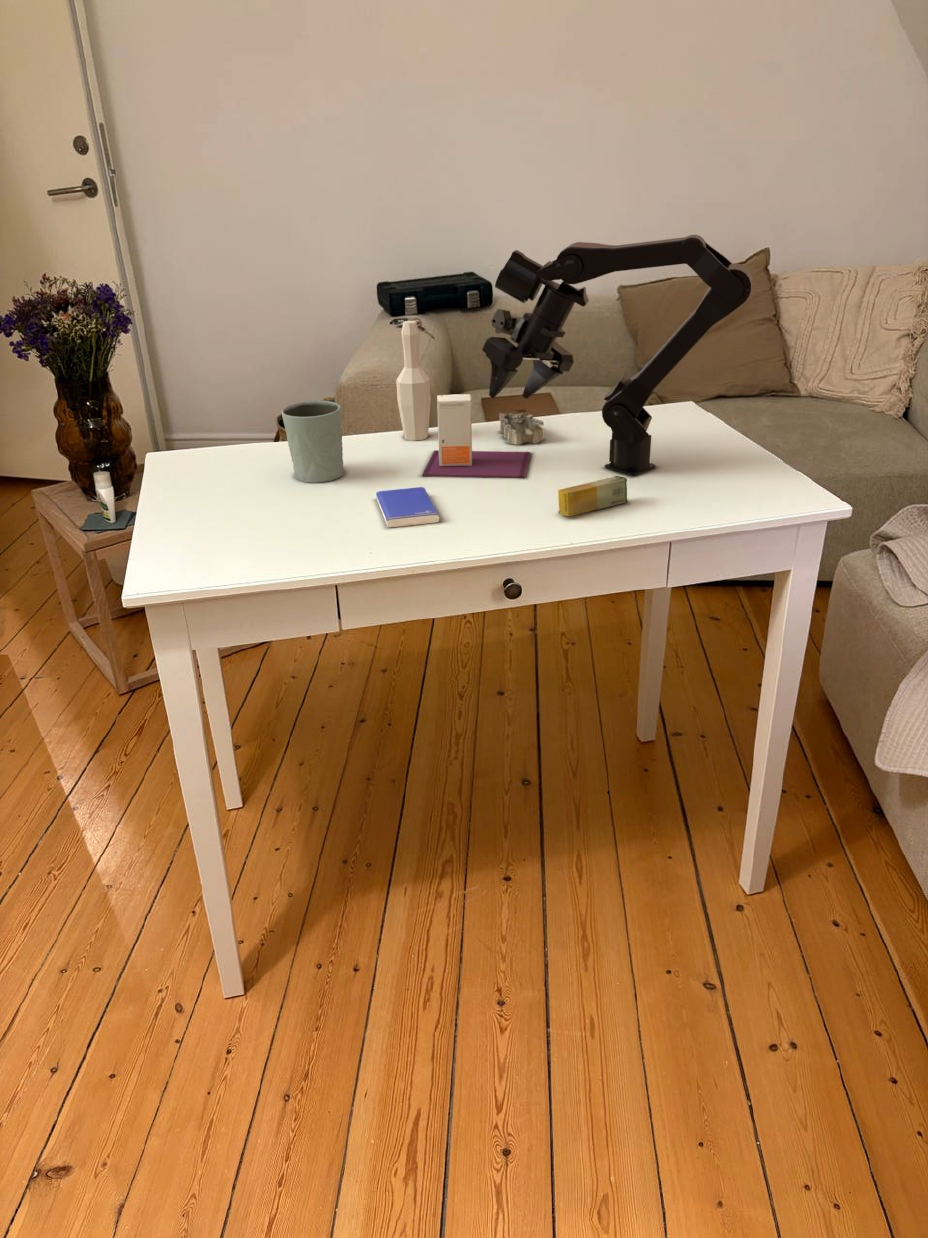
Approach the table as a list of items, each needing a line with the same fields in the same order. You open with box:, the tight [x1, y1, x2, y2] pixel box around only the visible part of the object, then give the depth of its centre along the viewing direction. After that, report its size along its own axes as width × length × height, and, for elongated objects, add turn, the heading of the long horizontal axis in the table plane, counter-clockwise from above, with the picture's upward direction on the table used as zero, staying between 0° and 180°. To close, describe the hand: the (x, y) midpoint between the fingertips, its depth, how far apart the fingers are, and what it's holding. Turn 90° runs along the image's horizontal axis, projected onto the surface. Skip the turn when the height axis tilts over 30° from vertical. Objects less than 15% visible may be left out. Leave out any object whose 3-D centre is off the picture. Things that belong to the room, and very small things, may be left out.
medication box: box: [557, 475, 628, 517], centre depth 153 cm, size 12×3×4 cm, turn 121°
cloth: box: [421, 450, 531, 479], centre depth 175 cm, size 18×13×1 cm
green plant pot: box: [281, 400, 344, 484], centre depth 170 cm, size 10×10×12 cm
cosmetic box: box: [436, 393, 473, 466], centre depth 172 cm, size 6×4×12 cm
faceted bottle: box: [395, 320, 431, 441], centre depth 185 cm, size 6×6×22 cm
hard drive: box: [375, 486, 440, 528], centre depth 156 cm, size 2×8×12 cm
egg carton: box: [498, 412, 545, 446], centre depth 188 cm, size 11×8×4 cm
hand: (508, 397), depth 171 cm, fingers open, 9 cm apart
